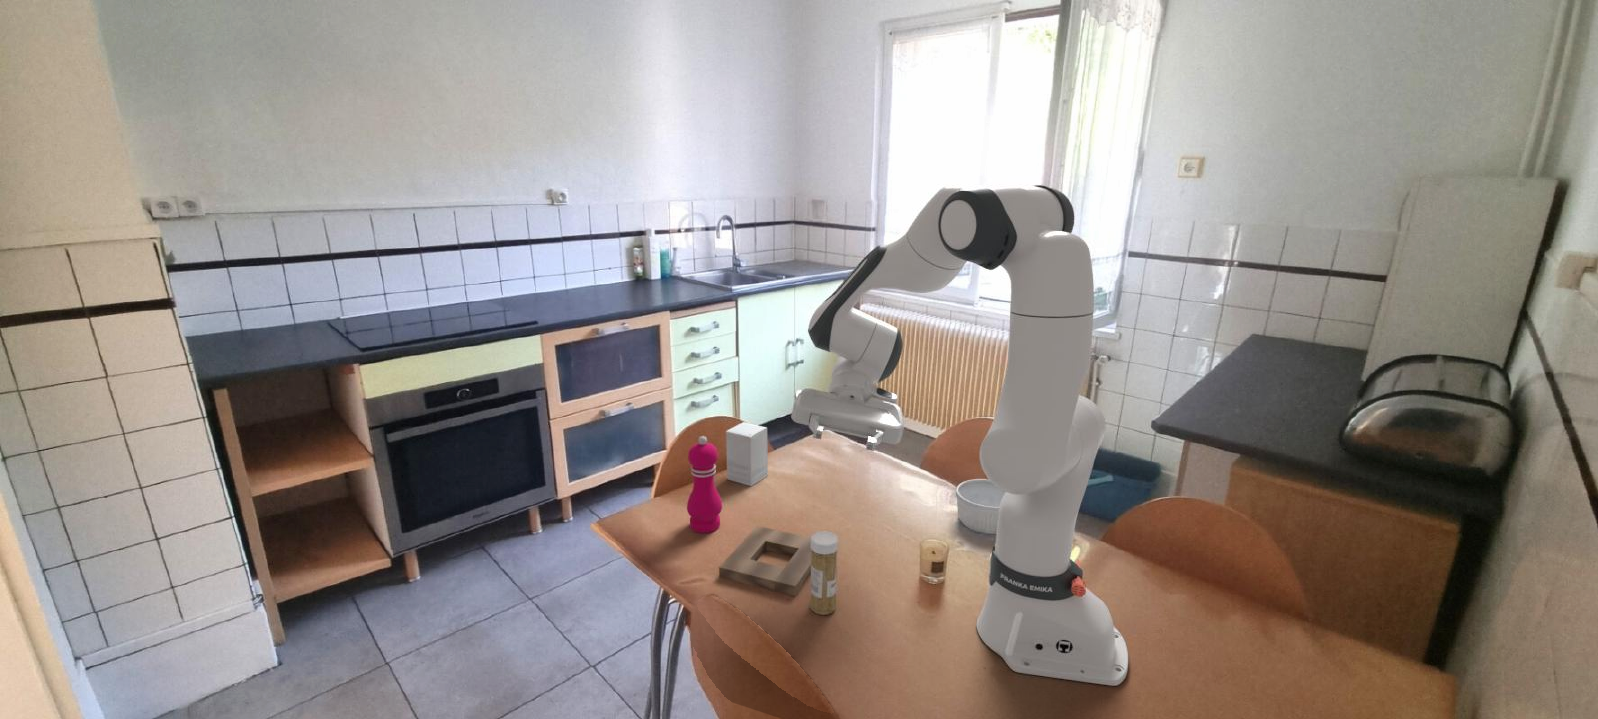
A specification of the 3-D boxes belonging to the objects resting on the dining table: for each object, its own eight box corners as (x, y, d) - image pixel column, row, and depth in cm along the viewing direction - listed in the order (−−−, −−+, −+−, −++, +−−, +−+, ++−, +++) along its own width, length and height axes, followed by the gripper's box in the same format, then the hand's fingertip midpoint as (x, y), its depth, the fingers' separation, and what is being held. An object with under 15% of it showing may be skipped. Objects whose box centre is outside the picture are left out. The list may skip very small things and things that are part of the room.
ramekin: (955, 534, 137) (958, 504, 135) (952, 504, 150) (954, 476, 148) (1022, 540, 135) (1025, 509, 133) (1013, 509, 148) (1016, 481, 146)
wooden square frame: (826, 550, 131) (826, 541, 130) (795, 596, 116) (795, 586, 116) (757, 534, 136) (757, 525, 136) (719, 576, 122) (719, 567, 121)
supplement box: (768, 475, 163) (768, 427, 159) (750, 487, 157) (750, 437, 153) (744, 468, 166) (743, 421, 163) (725, 479, 160) (724, 430, 157)
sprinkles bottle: (839, 613, 112) (841, 542, 108) (813, 617, 111) (814, 545, 107) (832, 597, 116) (834, 528, 113) (806, 600, 115) (807, 531, 112)
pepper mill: (716, 536, 135) (713, 444, 130) (682, 532, 137) (678, 441, 131) (727, 519, 142) (725, 431, 137) (694, 515, 143) (691, 428, 138)
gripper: (799, 373, 126) (788, 413, 114) (906, 397, 125) (905, 439, 113) (794, 401, 129) (782, 442, 117) (898, 424, 128) (897, 468, 116)
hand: (844, 441), depth 115 cm, fingers open, 8 cm apart
